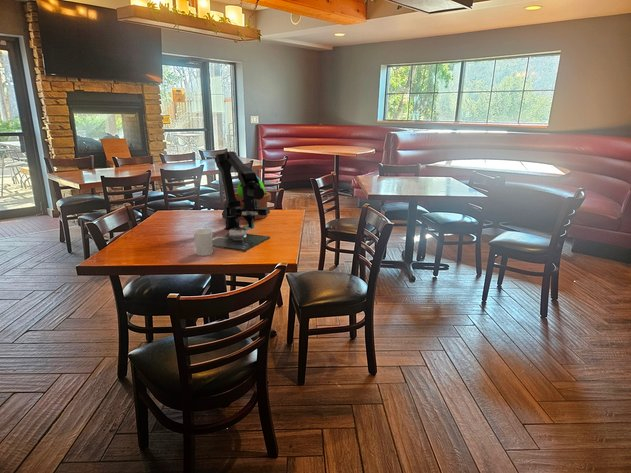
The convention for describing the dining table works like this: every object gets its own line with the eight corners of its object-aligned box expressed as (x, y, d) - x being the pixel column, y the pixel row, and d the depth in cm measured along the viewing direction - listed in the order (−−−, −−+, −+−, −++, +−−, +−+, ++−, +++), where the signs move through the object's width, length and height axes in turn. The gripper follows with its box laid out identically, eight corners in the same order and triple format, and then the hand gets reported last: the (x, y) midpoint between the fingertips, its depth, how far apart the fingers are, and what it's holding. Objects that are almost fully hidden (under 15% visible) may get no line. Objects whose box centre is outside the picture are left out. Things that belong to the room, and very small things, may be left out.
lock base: (201, 244, 191) (201, 239, 190) (229, 232, 210) (229, 228, 209) (245, 251, 182) (244, 246, 181) (270, 238, 201) (270, 233, 200)
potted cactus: (226, 216, 244) (223, 174, 237) (258, 210, 258) (256, 170, 250) (245, 223, 228) (243, 178, 221) (278, 216, 241) (277, 174, 234)
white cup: (204, 257, 174) (202, 235, 171) (191, 254, 178) (189, 232, 175) (217, 252, 181) (216, 230, 178) (205, 249, 185) (203, 228, 182)
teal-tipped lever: (240, 239, 190) (240, 232, 189) (226, 237, 193) (225, 231, 192) (259, 230, 205) (259, 224, 204) (245, 228, 208) (245, 222, 207)
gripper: (272, 193, 202) (274, 224, 207) (237, 193, 206) (240, 223, 211) (264, 198, 192) (267, 230, 196) (227, 197, 196) (230, 229, 201)
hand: (251, 228), depth 201 cm, fingers closed
